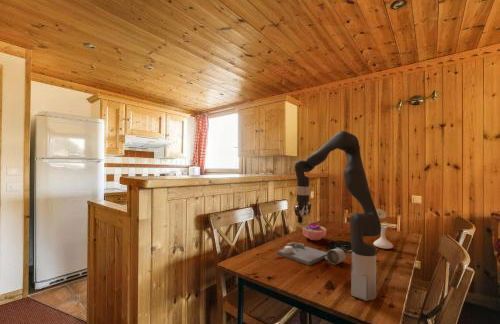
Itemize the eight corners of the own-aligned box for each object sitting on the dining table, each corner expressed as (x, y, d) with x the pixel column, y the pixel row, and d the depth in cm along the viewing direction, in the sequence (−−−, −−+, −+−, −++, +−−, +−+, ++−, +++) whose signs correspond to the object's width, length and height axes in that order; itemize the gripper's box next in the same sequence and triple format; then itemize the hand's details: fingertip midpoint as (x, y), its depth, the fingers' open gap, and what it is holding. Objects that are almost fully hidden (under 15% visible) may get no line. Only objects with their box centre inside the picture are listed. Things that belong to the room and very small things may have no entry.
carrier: (308, 265, 129) (308, 255, 130) (277, 254, 146) (277, 244, 146) (328, 256, 143) (328, 247, 143) (297, 247, 159) (298, 238, 159)
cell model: (300, 242, 170) (300, 225, 170) (303, 234, 189) (303, 220, 189) (326, 244, 165) (326, 228, 165) (325, 236, 184) (326, 221, 184)
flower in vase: (397, 249, 157) (397, 210, 158) (384, 251, 153) (384, 211, 154) (379, 243, 169) (379, 207, 170) (367, 245, 165) (367, 208, 166)
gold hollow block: (303, 228, 141) (303, 216, 141) (294, 225, 147) (294, 214, 147) (310, 226, 146) (311, 215, 146) (301, 223, 151) (301, 213, 151)
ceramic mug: (346, 262, 134) (346, 248, 134) (339, 266, 129) (339, 251, 129) (329, 257, 142) (329, 244, 142) (321, 261, 136) (321, 247, 137)
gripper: (300, 195, 139) (300, 225, 139) (315, 193, 148) (314, 221, 148) (290, 194, 144) (290, 222, 144) (305, 192, 154) (304, 219, 154)
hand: (302, 222), depth 146 cm, fingers closed on gold hollow block, 4 cm apart
